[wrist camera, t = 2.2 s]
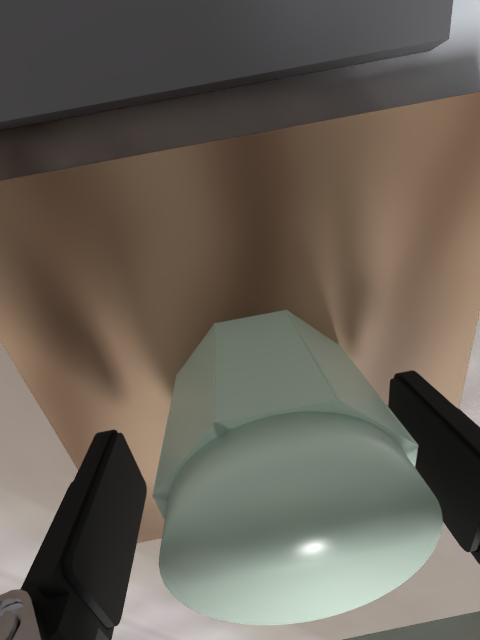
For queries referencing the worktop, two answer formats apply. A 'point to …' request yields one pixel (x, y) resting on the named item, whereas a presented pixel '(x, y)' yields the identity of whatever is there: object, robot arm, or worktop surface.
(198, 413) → the cap
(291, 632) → the worktop surface
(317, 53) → the mat
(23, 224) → the post stand
